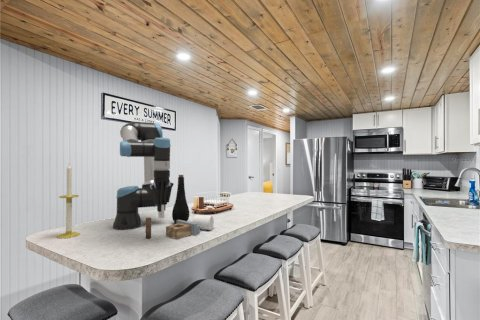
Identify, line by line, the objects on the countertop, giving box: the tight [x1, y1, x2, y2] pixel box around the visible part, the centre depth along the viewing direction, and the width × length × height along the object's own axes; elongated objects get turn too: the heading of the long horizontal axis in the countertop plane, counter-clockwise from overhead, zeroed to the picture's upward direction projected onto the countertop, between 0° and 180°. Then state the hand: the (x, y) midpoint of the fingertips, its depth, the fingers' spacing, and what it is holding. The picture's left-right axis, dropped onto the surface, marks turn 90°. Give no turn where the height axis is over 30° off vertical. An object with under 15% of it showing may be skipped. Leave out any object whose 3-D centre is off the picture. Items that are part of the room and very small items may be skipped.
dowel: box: [145, 216, 152, 240], centre depth 128 cm, size 3×3×10 cm
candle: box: [57, 163, 81, 239], centre depth 131 cm, size 10×10×38 cm
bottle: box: [171, 174, 190, 224], centre depth 158 cm, size 11×11×30 cm
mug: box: [192, 214, 214, 231], centre depth 147 cm, size 12×10×8 cm
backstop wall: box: [176, 220, 201, 237], centre depth 138 cm, size 14×5×6 cm, turn 55°
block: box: [165, 223, 192, 240], centre depth 132 cm, size 9×9×5 cm
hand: (161, 217), depth 124 cm, fingers closed
